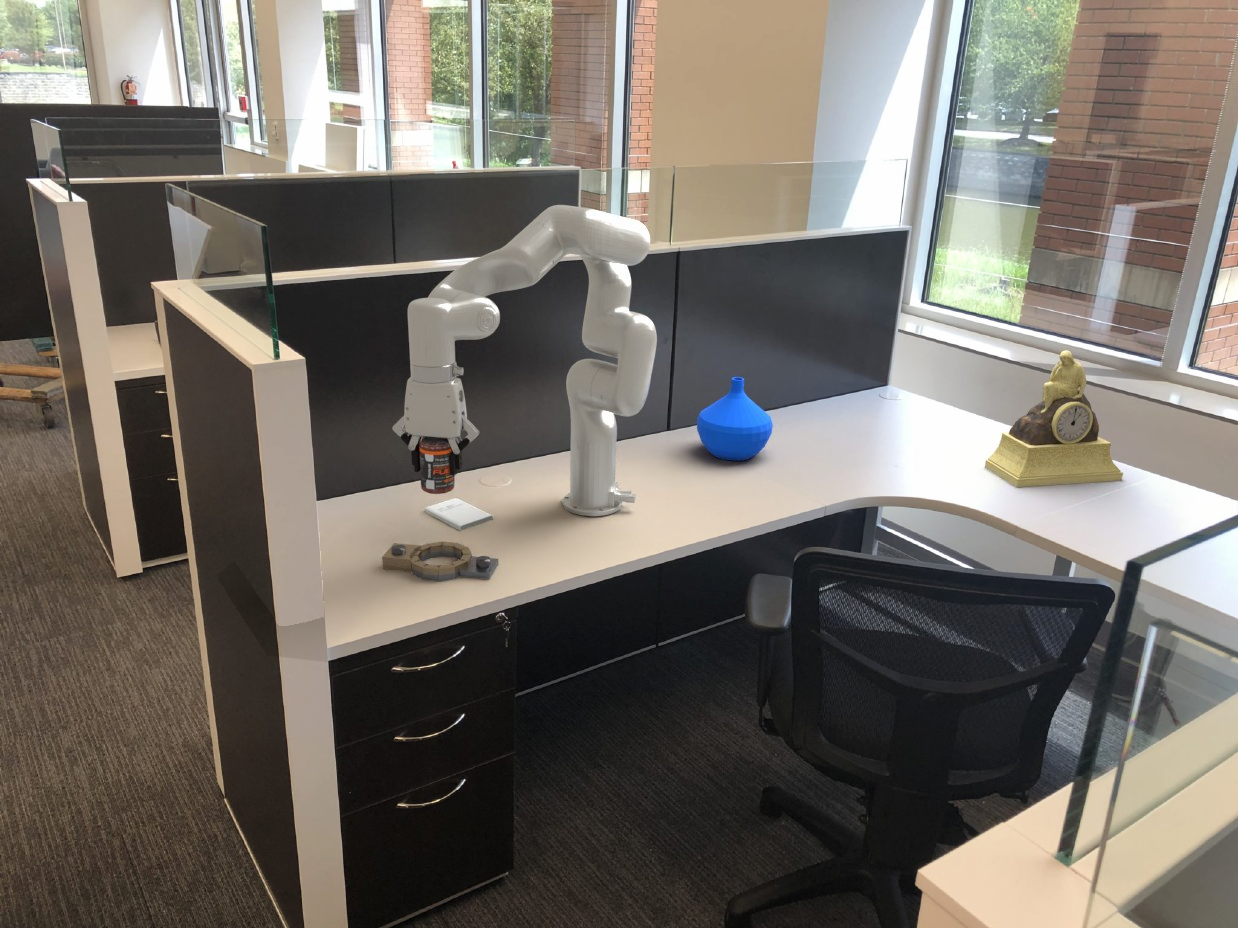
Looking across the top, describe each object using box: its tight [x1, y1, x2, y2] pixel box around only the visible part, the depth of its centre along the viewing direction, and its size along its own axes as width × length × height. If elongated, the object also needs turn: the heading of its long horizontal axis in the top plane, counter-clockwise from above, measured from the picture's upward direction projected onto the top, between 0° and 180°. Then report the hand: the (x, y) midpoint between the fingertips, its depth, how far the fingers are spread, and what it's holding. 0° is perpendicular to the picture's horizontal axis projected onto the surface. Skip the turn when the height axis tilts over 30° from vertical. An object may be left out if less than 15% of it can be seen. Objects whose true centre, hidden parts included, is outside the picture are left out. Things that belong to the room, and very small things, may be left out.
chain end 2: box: [410, 551, 499, 582], centre depth 177 cm, size 16×11×2 cm
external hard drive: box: [424, 497, 494, 531], centre depth 199 cm, size 2×8×12 cm
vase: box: [696, 376, 774, 461], centre depth 235 cm, size 18×18×19 cm
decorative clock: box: [984, 350, 1124, 488], centre depth 226 cm, size 28×13×30 cm, turn 103°
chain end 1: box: [381, 541, 473, 575], centre depth 177 cm, size 16×11×3 cm
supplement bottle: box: [419, 437, 456, 495], centre depth 170 cm, size 6×6×11 cm
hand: (437, 470), depth 171 cm, fingers closed on supplement bottle, 6 cm apart
